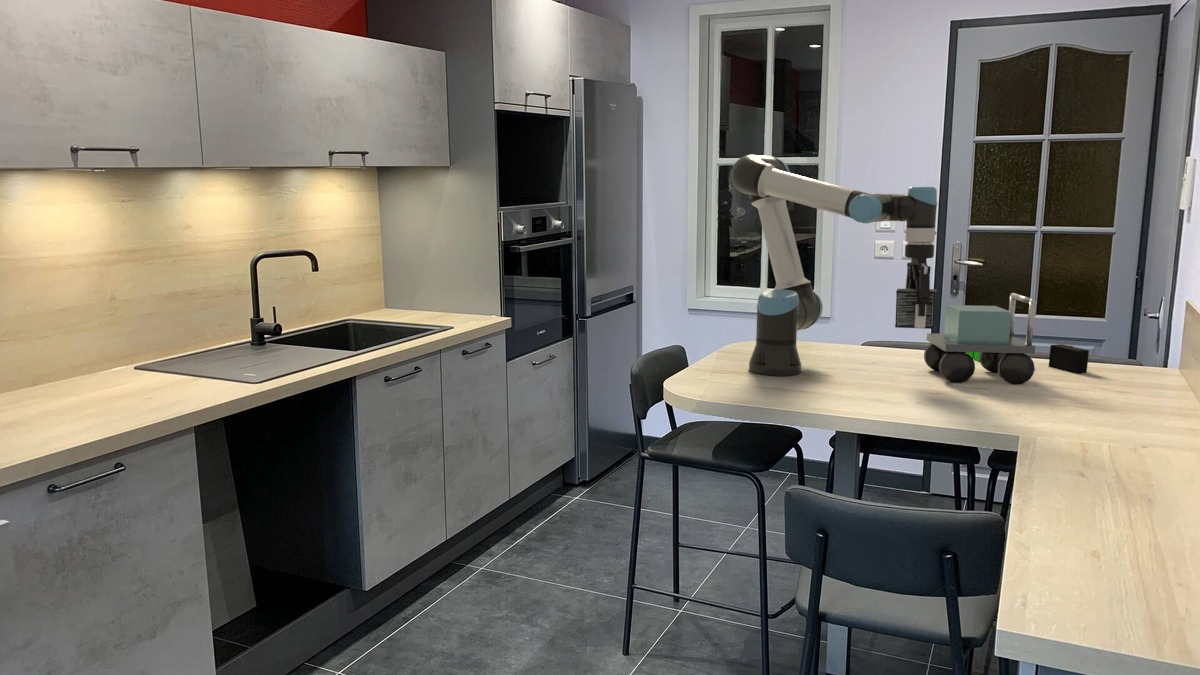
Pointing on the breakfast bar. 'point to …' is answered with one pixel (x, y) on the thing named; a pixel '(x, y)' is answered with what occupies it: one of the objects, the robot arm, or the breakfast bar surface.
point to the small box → (913, 309)
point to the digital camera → (1068, 358)
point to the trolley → (982, 343)
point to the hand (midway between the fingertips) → (915, 325)
